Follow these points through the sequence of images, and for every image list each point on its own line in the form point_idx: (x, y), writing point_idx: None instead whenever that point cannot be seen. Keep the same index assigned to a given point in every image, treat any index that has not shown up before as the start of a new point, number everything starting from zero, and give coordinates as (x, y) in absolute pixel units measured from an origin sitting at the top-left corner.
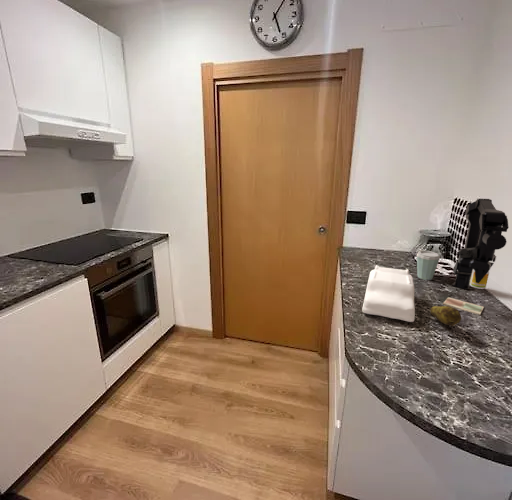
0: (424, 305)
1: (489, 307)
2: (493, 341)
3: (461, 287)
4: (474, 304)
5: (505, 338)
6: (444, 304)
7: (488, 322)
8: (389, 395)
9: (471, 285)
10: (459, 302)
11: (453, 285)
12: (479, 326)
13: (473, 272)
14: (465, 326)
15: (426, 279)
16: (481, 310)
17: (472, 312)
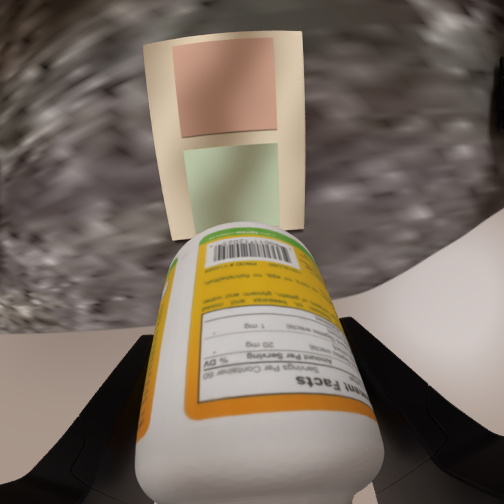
0: (47, 7)
1: (330, 243)
2: (13, 309)
3: (500, 99)
4: (299, 185)
5: (58, 329)
6: (145, 55)
7: (121, 278)
8: None
9: (174, 258)
10: (253, 110)
11: (501, 60)
12: (52, 264)
13: (155, 413)
14: (7, 231)
15: None
16: None
17: (166, 205)
